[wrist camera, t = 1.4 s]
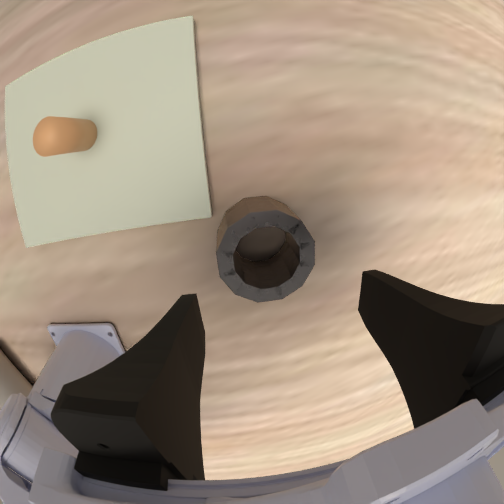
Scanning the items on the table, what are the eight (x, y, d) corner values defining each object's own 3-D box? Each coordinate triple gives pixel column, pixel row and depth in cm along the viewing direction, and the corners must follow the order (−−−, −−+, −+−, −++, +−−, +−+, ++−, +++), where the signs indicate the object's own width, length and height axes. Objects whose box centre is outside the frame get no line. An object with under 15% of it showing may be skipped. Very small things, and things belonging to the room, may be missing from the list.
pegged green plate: (212, 213, 18) (207, 241, 13) (32, 243, 18) (-6, 271, 12) (194, 21, 13) (184, -18, 8) (12, 87, 12) (-30, 83, 7)
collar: (298, 267, 21) (313, 294, 17) (223, 276, 20) (224, 306, 17) (296, 193, 18) (314, 206, 15) (213, 201, 18) (211, 217, 14)
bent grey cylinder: (108, 440, 27) (3, 337, 20) (84, 497, 18) (-43, 398, 10) (54, 425, 32) (-21, 345, 24) (34, 465, 23) (-51, 385, 15)
